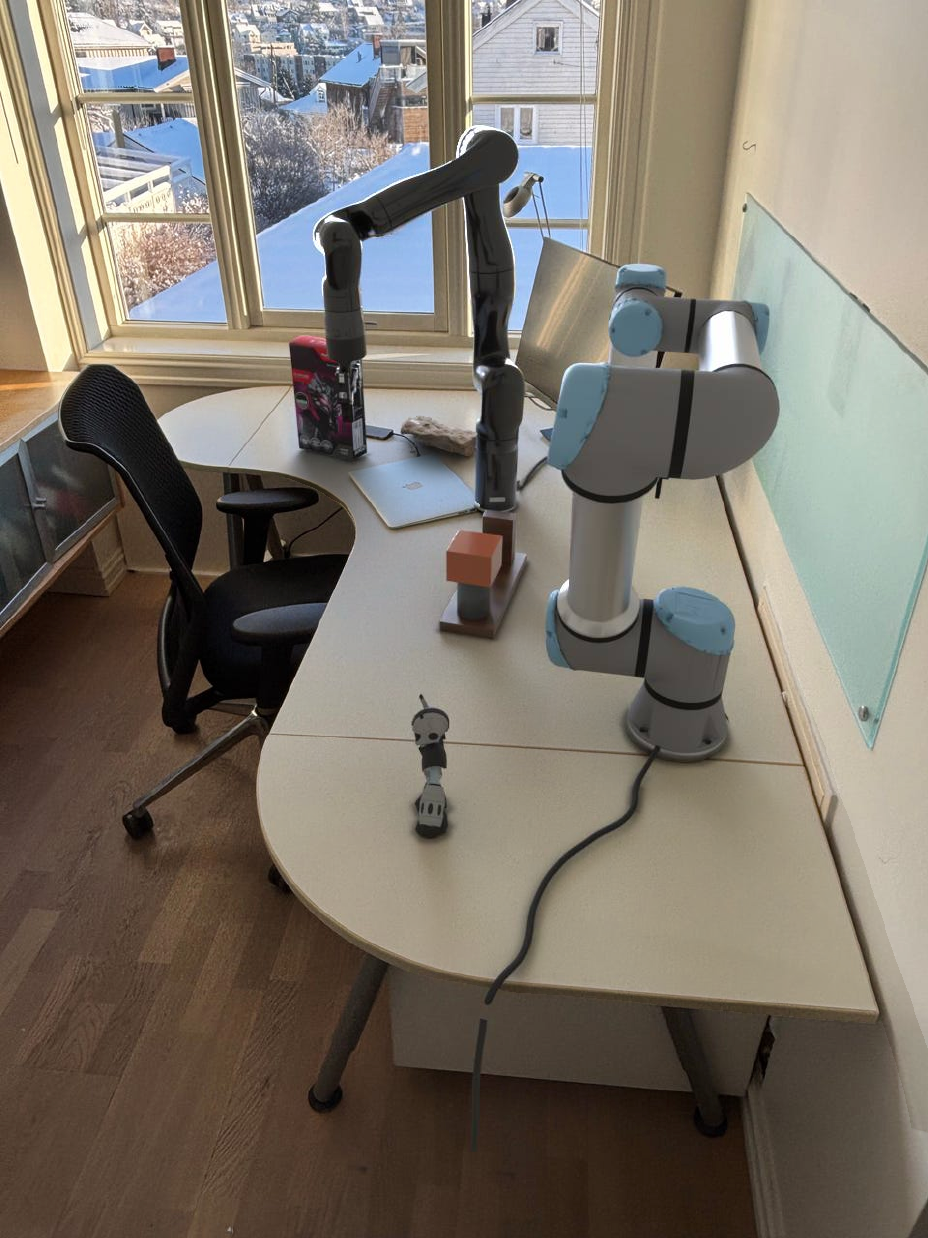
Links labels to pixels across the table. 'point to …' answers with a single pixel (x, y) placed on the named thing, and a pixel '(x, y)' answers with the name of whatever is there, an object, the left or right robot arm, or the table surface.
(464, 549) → the terracotta cap
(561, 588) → the right robot arm
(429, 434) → the stone
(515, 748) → the table surface
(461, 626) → the walnut stand
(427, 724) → the robot
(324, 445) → the graphics card box
